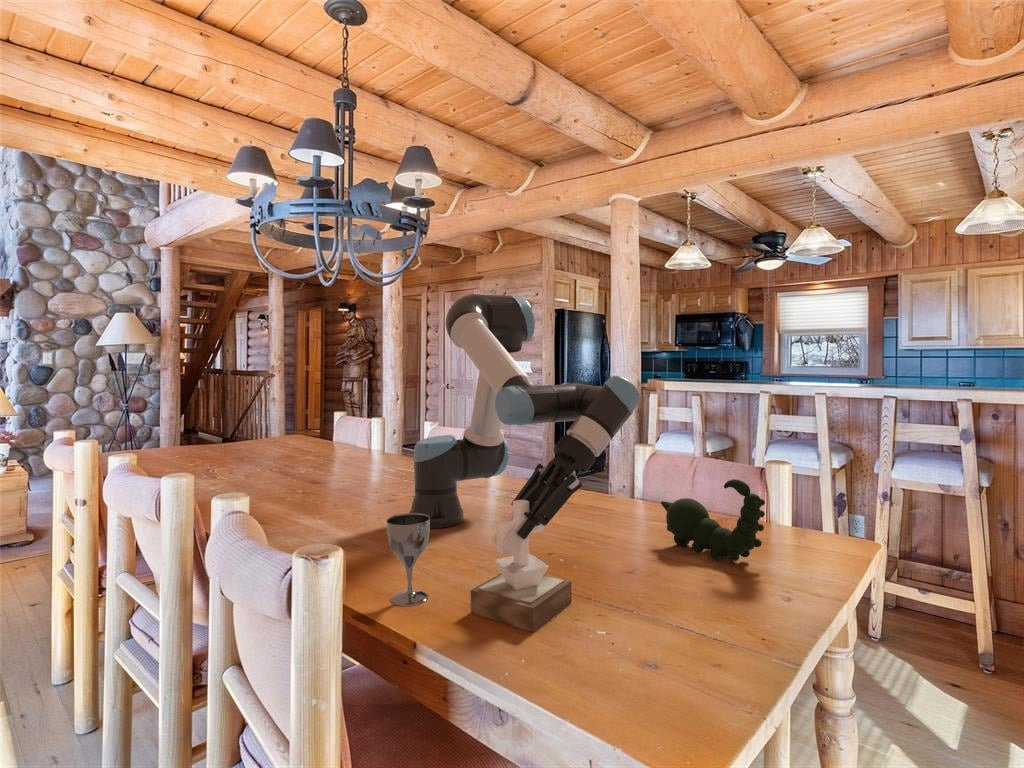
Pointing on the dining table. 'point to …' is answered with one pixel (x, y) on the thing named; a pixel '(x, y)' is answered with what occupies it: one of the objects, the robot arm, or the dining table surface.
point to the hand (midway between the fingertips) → (501, 547)
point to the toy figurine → (716, 525)
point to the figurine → (519, 553)
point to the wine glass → (408, 550)
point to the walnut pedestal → (521, 601)
